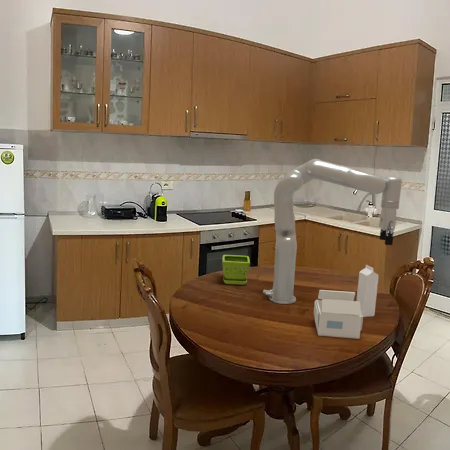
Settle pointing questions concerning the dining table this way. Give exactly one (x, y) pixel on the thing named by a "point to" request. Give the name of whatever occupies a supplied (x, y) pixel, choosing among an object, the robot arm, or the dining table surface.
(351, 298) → the flap far
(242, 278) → the flower pot
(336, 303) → the flap near
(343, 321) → the carton
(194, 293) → the dining table surface
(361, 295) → the milk
